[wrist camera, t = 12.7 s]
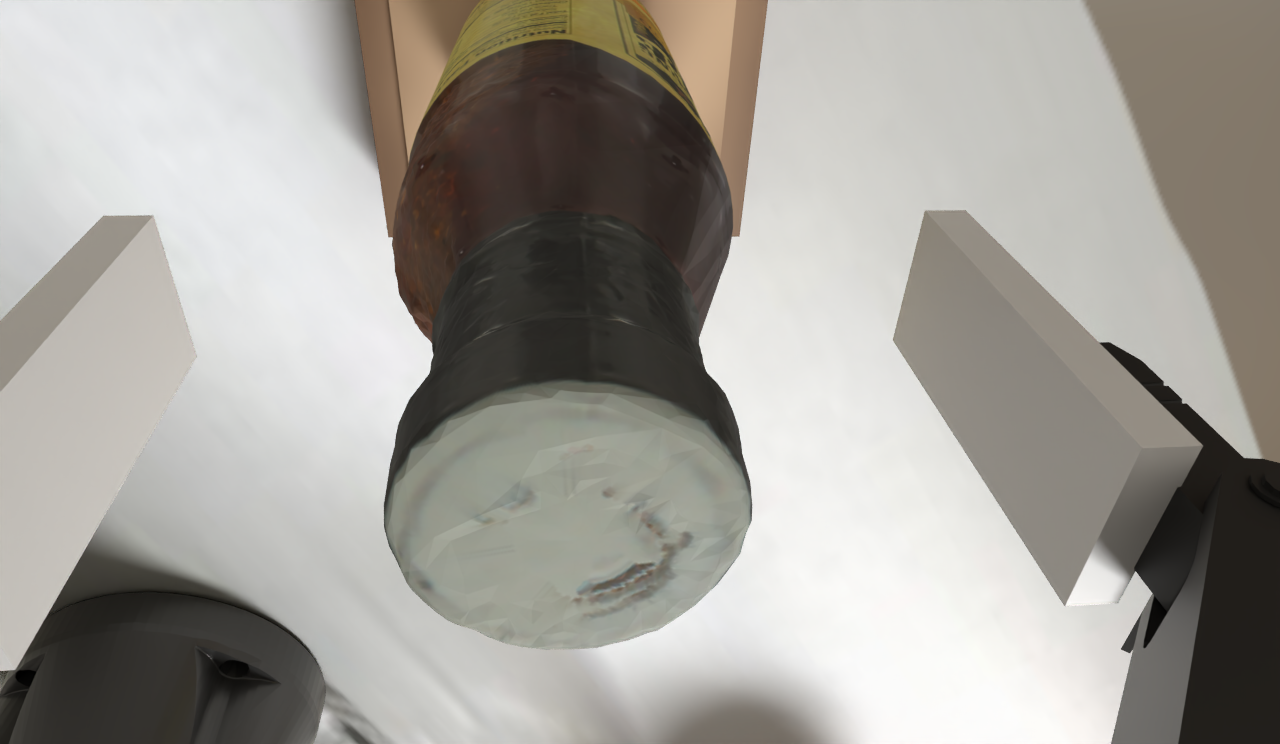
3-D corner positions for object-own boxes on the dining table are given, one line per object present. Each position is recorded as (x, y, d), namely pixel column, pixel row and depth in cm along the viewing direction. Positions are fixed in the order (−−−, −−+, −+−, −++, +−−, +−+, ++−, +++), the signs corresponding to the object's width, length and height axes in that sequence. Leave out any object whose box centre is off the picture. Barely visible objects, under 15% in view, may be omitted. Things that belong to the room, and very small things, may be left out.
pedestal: (401, 199, 31) (387, 240, 28) (349, -195, 24) (325, -190, 21) (724, 200, 32) (740, 239, 29) (765, -177, 25) (790, -169, 23)
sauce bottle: (666, 158, 28) (832, 714, 11) (472, 171, 27) (363, 762, 11) (662, -66, 24) (903, 296, 8) (436, -54, 23) (191, 351, 7)
